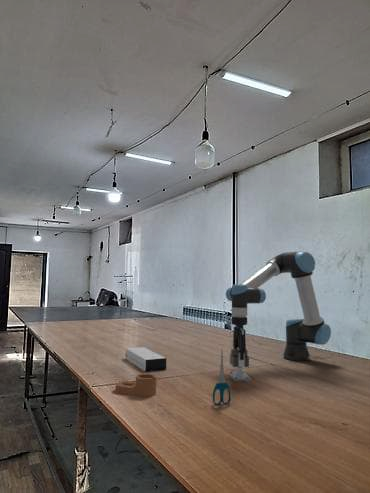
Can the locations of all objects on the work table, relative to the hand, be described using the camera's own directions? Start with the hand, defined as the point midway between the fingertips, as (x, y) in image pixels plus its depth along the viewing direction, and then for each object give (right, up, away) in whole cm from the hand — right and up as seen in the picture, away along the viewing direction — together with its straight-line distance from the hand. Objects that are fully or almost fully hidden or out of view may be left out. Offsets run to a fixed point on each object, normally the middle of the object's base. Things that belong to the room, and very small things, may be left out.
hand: (239, 364), depth 175 cm
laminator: (-49, -8, +25) cm, 55 cm away
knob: (0, 0, 0) cm, 0 cm away
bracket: (-46, -4, -25) cm, 53 cm away
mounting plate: (0, -6, -1) cm, 6 cm away
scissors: (-12, -3, -39) cm, 41 cm away
